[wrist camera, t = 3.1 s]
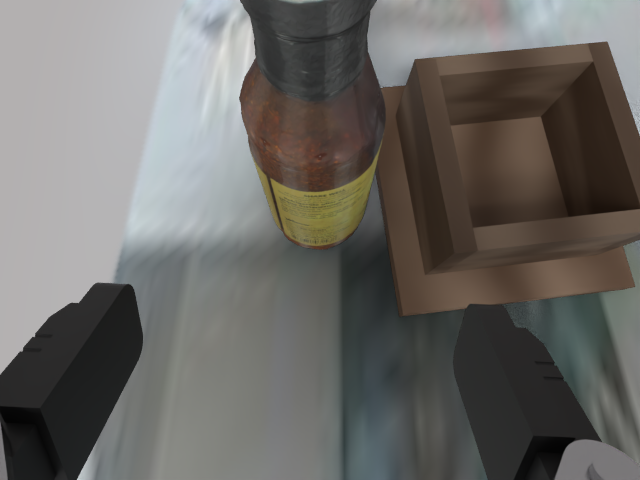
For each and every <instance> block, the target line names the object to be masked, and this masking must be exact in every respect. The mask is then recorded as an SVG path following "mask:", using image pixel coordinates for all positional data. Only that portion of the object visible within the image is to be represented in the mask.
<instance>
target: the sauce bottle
mask: <svg viewBox="0 0 640 480" xmlns="http://www.w3.org/2000/svg"><path fill="white" fill-rule="evenodd" d="M240 1H241V3H242V4H243V7H244V9H245V10H246V11H247V12H248V14H249V16H250V18H251V23H252V27H253V33H254V38H255V40H254V45H255V55H256V58H255V60H254V62H253V64H252V66H251V67H250V69H249V71H248V73H247V74H246V76H245V78H244V81H243V85H242V89H241V93H240V97H239V100H240V103H241V111H242V112H241V114H242V118H243V122H244V125H245V128H246V131H247V134H248V142H249V147H250V151H251V154H252V157H253V160H254V163H255V166H256V169H257V172H258V174H259V177H260V180H261V183H262V186H263V189H264V192H265V195H266V198H267V201H268V204H269V207H270V210H271V213H272V215H273V218H274V220H275V222H276V224H277V226H278V227H279V228H280V229H281V230H282V231H283V233H284V235H285V236H286V237H287V238H288V239H289V240H290V241H292V242H294V243H295V244H297V245H299V246H302V247H306V248H312V249H319V250H322V249H328V248H331V247H334V246H335V245H338V244H340V243H342V242H344V241H345V240H346V239H348V238H349V237H350V236H351V235H352V234H353V233H354V231H355V230H356V229H357V227H358V225H359V223H360V222H361V220H362V218H363V215H364V212H365V209H366V205H367V201H368V197H369V193H370V189H371V184H372V181H373V177H374V173H375V169H376V165H377V160H378V156H379V152H380V148H381V145H382V139H383V135H384V131H385V122H386V107H385V102H384V97H383V94H382V91H381V88H380V85H379V82H378V79H377V77H376V74H375V71H374V68H373V65H372V62H371V59H370V56H369V53H368V46H367V32H368V25H369V17H370V10H371V9H372V7H373V6H374V4H375V3H376V1H377V0H240Z"/></svg>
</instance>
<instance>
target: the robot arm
mask: <svg viewBox="0 0 640 480" xmlns="http://www.w3.org/2000/svg"><path fill="white" fill-rule="evenodd" d="M142 345H143V332H142V327H141V322H140V317H139V312H138V307H137V302H136V296H135V292H134V289H133V287H132V286H131V285H130V284H114V283H96V284H94V285H93V286H92V287H91V288H90V290H89V291H88V292H87V294H86V295H85V296H84V297H83V299H82V300H81V301H80V302H79V303H70V304H68V305H67V306H65V307H64V308H62V309H61V310H59V311H58V312H56V313H55V314H53V315H52V316H50V317H49V318H48V319H47V321H46V322H45V323H44V324H43V325H42V326H41V328H40V329H39V330H38V331H37V332H36V333H35V337H32V338H31V339H30V341H29V342H28V343H27V344H26V345H25V346H24V348H23V351H22V352H19V353H18V355H17V356H16V357H15V358H14V359H13V360H12V362H11V363H10V364H9V365H8V367H6V369H5V370H4V371H3V372H2V373H1V375H0V480H77V478H78V476H79V474H80V472H81V470H82V468H83V466H84V464H85V463H86V461H87V459H88V457H89V455H90V453H91V451H92V449H93V447H94V445H95V443H96V441H97V439H98V437H99V435H100V433H101V432H102V430H103V428H104V426H105V424H106V422H107V420H108V418H109V416H110V414H111V412H112V410H113V408H114V406H115V404H116V402H117V401H118V399H119V397H120V395H121V393H122V391H123V389H124V387H125V385H126V383H127V381H128V379H129V377H130V375H131V373H132V371H133V370H134V368H135V366H136V364H137V362H138V360H139V357H140V354H141V351H142ZM453 365H454V374H455V378H456V381H457V384H458V387H459V391H460V394H461V397H462V400H463V403H464V406H465V409H466V412H467V416H468V419H469V422H470V425H471V428H472V431H473V434H474V437H475V441H476V444H477V447H478V450H479V453H480V456H481V459H482V463H483V466H484V469H485V472H486V475H487V478H488V480H640V466H639V465H638V464H637V463H636V462H635V461H634V460H632V459H631V458H630V457H629V456H627V455H626V454H624V453H623V452H621V451H620V450H618V449H616V448H614V447H612V446H610V445H608V444H605V443H602V441H601V439H600V438H599V436H598V434H597V433H596V431H595V429H594V428H593V426H592V424H591V423H590V421H589V419H588V418H587V416H586V414H585V413H584V411H583V409H582V408H581V406H580V404H579V403H578V401H577V399H576V398H575V396H574V394H573V393H572V391H571V389H570V388H569V386H568V384H567V383H566V382H564V380H563V378H564V377H563V376H562V374H561V372H560V371H559V369H558V367H557V366H555V365H554V361H553V359H552V357H551V356H550V354H549V352H548V351H547V349H546V347H545V346H544V344H543V343H542V342H541V341H539V340H538V339H537V338H536V337H535V336H534V335H533V334H532V333H530V332H529V331H528V330H527V329H526V328H516V327H515V325H514V323H513V321H512V319H511V318H510V316H509V314H508V312H507V310H506V309H505V307H504V306H502V305H488V304H469V305H468V306H467V308H466V311H465V314H464V318H463V321H462V325H461V329H460V332H459V336H458V340H457V343H456V347H455V351H454V359H453Z"/></svg>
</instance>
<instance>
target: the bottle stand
mask: <svg viewBox="0 0 640 480" xmlns="http://www.w3.org/2000/svg"><path fill="white" fill-rule="evenodd" d="M381 91H382V94H383V97H384V102H385V107H386V122H385V131H384V135H383V139H382V145H381V148H380V152H379V156H378V160H377V165H376V169H375V172H376V178H377V184H378V190H379V197H380V203H381V209H382V215H383V221H384V227H385V233H386V239H387V245H388V251H389V257H390V263H391V269H392V275H393V281H394V287H395V293H396V299H397V305H398V311H399V317H401V316H409V315H417V314H426V313H434V312H442V311H450V310H458V309H466V308H467V306H468V305H469V304H488V305H500V304H508V303H516V302H524V301H532V300H541V299H549V298H557V297H565V296H574V295H582V294H590V293H598V292H606V291H615V290H623V289H627V288H632V287H635V284H634V281H633V278H632V274H631V271H630V268H629V265H628V261H627V258H626V255H625V252H624V248H623V246H624V245H626V244H629V243H632V242H635V241H637V240H640V136H639V133H638V130H637V127H636V124H635V121H634V118H633V115H632V112H631V109H630V107H629V104H628V101H627V98H626V95H625V92H624V89H623V86H622V83H621V80H620V77H619V74H618V71H617V68H616V65H615V62H614V60H613V57H612V54H611V51H610V48H609V45H608V42H598V43H587V44H576V45H566V46H555V47H544V48H533V49H522V50H511V51H500V52H490V53H479V54H468V55H457V56H446V57H435V58H425V59H415V61H414V64H413V66H412V69H411V72H410V75H409V78H408V81H407V84H406V86H396V87H385V88H381Z"/></svg>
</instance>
